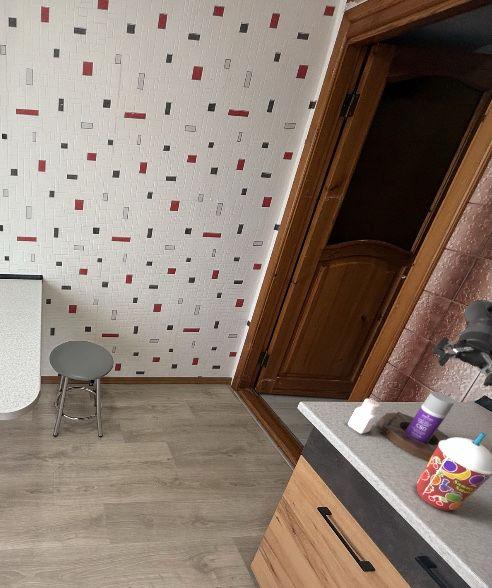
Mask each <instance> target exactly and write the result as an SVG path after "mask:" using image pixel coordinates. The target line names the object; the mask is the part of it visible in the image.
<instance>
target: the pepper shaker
mask: <svg viewBox="0 0 492 588" xmlns="http://www.w3.org/2000/svg"><path fill="white" fill-rule="evenodd" d="M380 406H381V405H380V403H379V402H377V401H376V400H374V399H371V398H365V399H364V401H363V403H362V405H361V406H357V407H356V408H355V409H354V411H353V413H352V415H351V417H350V419H349V421H348V422H347V426H349V427H350V428H351V429H353V430H354V431H356V432H357V433H358V434H361V435H362V434H366V433H369V432H370V431H371V430H372V428H373V426H374V425H375V423H376V421H377V419H378V417H379V415H378V414H377V413H376V412H377V411H378V410H379V408H380Z"/></svg>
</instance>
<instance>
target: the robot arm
mask: <svg viewBox="0 0 492 588" xmlns="http://www.w3.org/2000/svg"><path fill="white" fill-rule="evenodd" d="M463 317H464V321H465V325H466V326H465V328H464V330H463V331H462V332H461V333H460V334H459V336H458V339H457V341H456V343H453V342H451V341H450V339H449V338H448V337H446V336H444V337H443V336H442V338H441V340H440V341H439V342H438V343H437V344H436V345H435V346H434V348H433V350H432V351H431V353H432V354H434V355H438V356H439V357H438V359H437V363H438V364H439V366H441V367H444V366H445V365H446V364H447V363H448V362H449V360H451V361H452V360H453V361H454V360H460V361H461V362H463V363H466V364H469V365H470V366H472V367H475V368H476V369H477V370H478V371H479V372H480V373H481V374H484V375H485V376H486V377H485V378H484V382H483V384H482V385H483V386H485V387H492V301H491V300H489V299H488V300H487V299H477V300H474V301H471V303H469V304H468V305H467V306H466V307H465V309H464V313H463ZM446 348H450V349H446Z"/></svg>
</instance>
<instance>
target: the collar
mask: <svg viewBox="0 0 492 588" xmlns="http://www.w3.org/2000/svg"><path fill="white" fill-rule="evenodd" d="M414 417H415V416H411V415H408V414H405V413H402V412H400V411H397V412H394V411H393V412H386V413H385V414H384V415H383V416H382V417H381V419H380V420H379V422H378V425H379V429H380V432H379V433H380V434H382V435H383V436H385V437H386V438H387V439H388V440H390V441H391V442H392V443H393V444H395V446H397V447H398V448H400V449H402V450H404V451H405V452H407V453H408V454H410V455H412V456H414V457H416V458H420V459H423V460H425V461H426V462H427V461H428V462H429V460H430V459H431V457H432V455H433V453H434V452H435V450H436V448H437V446H438V445H439V442H440V441H441V440H446V439H449V438H450V437H449V436H448V435H447V434H445V433H444V432H442V430H440V429H437V430H436V432H435V433H434V434H433V436H432V437H431V439H430V440H429V443H430V444H429V443H427V444H425V443H423V442H420V441H418V440H416V439H414V438H412V437H410V436H409V435H408V434H406V433H405V431H404V430H406V429H407V428H408V426H409V425H410V423H411V422H412V420H413V419H414ZM403 429H404V430H403Z"/></svg>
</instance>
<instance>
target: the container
mask: <svg viewBox="0 0 492 588" xmlns="http://www.w3.org/2000/svg"><path fill="white" fill-rule="evenodd" d="M455 403H456V401H455V399H453V398H451V397H450V396H448V395H447V394H444V393H442V392H439V391H431V392H429V395H428V396H427V398H426V399H425V400H424V402H423V403H422V405H421V406H420V408H419V409H418V411H417V412H416V414H415V415H414V416H413V417H414V419H413V420H412V422H411V423H410V425H409V426H408V428H407V429H405V431H404V432H405V433H406V434H408V435H409V436H410V437H412V438H414V439H416V440H418V441H420V442H423V443H425V444H429V443H430V441H429V440H430V439H431V437H432V436H433V434H434V433H435V432H436V430H437V429H438V428H440V425H441V424H442V423H443V421H444V420H445V419H446V417H447V415H448V414H449V413H450V411H451V409H452V408H453V406H454V405H455ZM438 430H439V429H438Z"/></svg>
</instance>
